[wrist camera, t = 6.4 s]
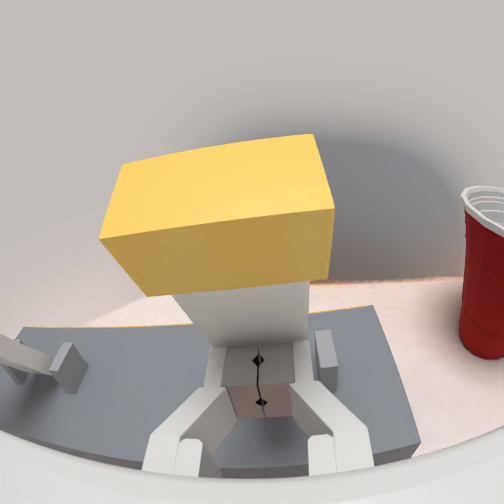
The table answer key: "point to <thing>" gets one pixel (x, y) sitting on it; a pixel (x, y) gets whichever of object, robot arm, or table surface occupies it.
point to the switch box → (186, 383)
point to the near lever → (228, 235)
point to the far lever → (23, 357)
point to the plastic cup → (483, 272)
